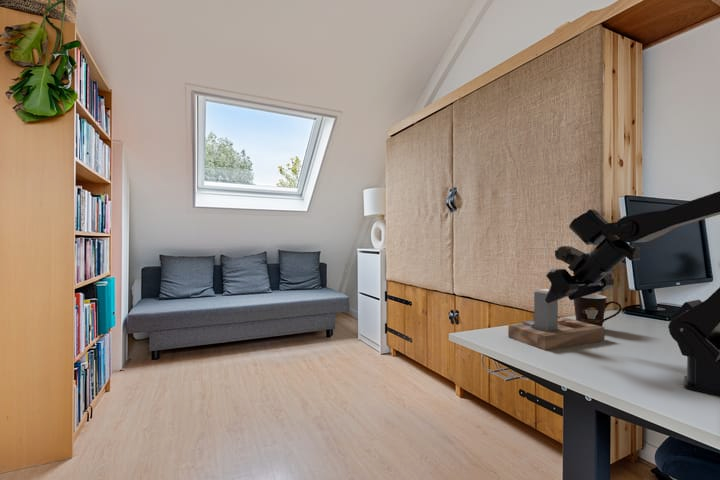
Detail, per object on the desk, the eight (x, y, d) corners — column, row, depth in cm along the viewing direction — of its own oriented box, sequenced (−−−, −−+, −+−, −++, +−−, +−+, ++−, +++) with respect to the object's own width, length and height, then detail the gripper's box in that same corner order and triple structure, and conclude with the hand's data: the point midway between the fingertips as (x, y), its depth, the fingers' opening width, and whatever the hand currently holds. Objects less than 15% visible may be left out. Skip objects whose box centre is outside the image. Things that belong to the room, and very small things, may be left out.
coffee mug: (568, 328, 111) (568, 295, 110) (578, 323, 116) (579, 292, 116) (613, 336, 102) (613, 301, 102) (622, 331, 107) (622, 297, 107)
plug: (557, 341, 96) (557, 290, 96) (547, 343, 94) (547, 291, 94) (543, 337, 100) (544, 288, 100) (534, 339, 98) (534, 289, 98)
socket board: (604, 340, 98) (604, 325, 98) (544, 350, 90) (544, 333, 90) (564, 329, 110) (564, 315, 110) (508, 337, 101) (508, 322, 101)
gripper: (600, 234, 93) (560, 274, 103) (553, 235, 85) (514, 278, 95) (635, 267, 86) (588, 306, 96) (588, 271, 78) (542, 313, 88)
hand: (558, 300), depth 94 cm, fingers open, 9 cm apart
